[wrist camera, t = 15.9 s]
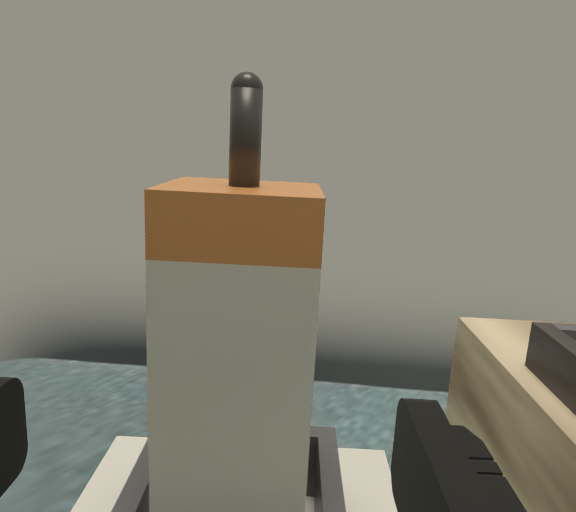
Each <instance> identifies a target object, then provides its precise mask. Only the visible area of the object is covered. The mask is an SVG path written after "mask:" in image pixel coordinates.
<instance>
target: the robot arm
mask: <svg viewBox="0 0 576 512" xmlns="http://www.w3.org/2000/svg"><path fill="white" fill-rule="evenodd" d="M27 448H28V442H27V428H26V415H25V402H24V390H23V385H22V383H21V381H20V380H19V379H18V378H9V377H0V497H1V496H2V495H3V493H4V492H5V491H6V490H7V489H8V487H9V486H10V485H11V484H12V483H13V481H14V480H15V479H16V478H17V477H18V475H19V474H20V472H21V470H22V468H23V465H24V463H25V459H26V455H27ZM391 484H392V492H393V497H394V501H395V504H396V508H397V512H527V511H526V509H525V508H524V506H523V504H522V503H521V501H520V500H519V498H518V496H517V495H516V493H515V492H514V490H513V488H512V487H511V485H510V484H509V482H508V480H507V479H506V477H503V473H502V471H501V469H500V468H499V466H498V465H497V463H496V462H494V458H493V457H492V455H491V453H490V452H489V450H488V449H487V447H486V445H485V444H484V442H483V441H482V440H481V439H480V438H478V437H477V436H476V435H475V434H473V433H472V432H471V431H469V430H468V429H467V428H466V427H464V426H460V425H450V423H449V421H448V419H447V417H446V415H445V414H444V412H443V410H442V408H441V406H440V405H439V403H438V401H436V400H424V399H404V398H401V399H400V400H399V403H398V407H397V415H396V425H395V434H394V444H393V453H392V463H391Z"/></svg>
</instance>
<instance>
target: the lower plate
mask: <svg viewBox="0 0 576 512" xmlns="http://www.w3.org/2000/svg"><path fill="white" fill-rule="evenodd" d="M71 512H149V459H148V438H146V437H128V436H117V437H116V438H115V440H114V442H113V443H112V445H111V446H110V448H109V450H108V451H107V453H106V455H105V456H104V458H103V460H102V461H101V463H100V464H99V466H98V468H97V469H96V471H95V473H94V474H93V476H92V478H91V479H90V481H89V482H88V484H87V486H86V487H85V489H84V491H83V492H82V494H81V496H80V497H79V499H78V500H77V502H76V504H75V505H74V507H73V509H72V510H71ZM305 512H397V508H396V504H395V501H394V497H393V492H392V484H391V473H390V469H389V466H388V462H387V459H386V455H385V452H384V450H368V449H349V448H338V447H337V439H336V432H335V428H330V427H312V426H311V429H310V444H309V460H308V475H307V490H306V505H305Z"/></svg>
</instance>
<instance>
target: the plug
mask: <svg viewBox="0 0 576 512" xmlns="http://www.w3.org/2000/svg"><path fill="white" fill-rule="evenodd" d="M262 105H263V85H262V82H261V80H260V79H259V77H258V76H257V75H255V74H254V73H251V72H242V73H240V74H238V75H237V76H236V77H235V78H234V79H233V81H232V84H231V101H230V148H229V179H219V178H199V177H181V178H178V179H175V180H172V181H169V182H166V183H163V184H160V185H157V186H153V187H150V188H147V189H145V190H144V192H145V193H144V194H145V258H146V259H145V260H146V324H147V325H146V327H147V393H148V459H149V512H305V505H306V490H307V475H308V460H309V444H310V429H311V414H312V399H313V383H314V368H315V353H316V338H317V323H318V307H319V292H320V276H321V262H322V246H323V231H324V216H325V201H326V198H325V196H324V194H323V192H322V190H321V188H320V186H319V185H318V184H317V183H299V182H298V183H297V182H278V181H260V159H261V133H262V132H261V131H262Z"/></svg>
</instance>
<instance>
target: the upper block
mask: <svg viewBox="0 0 576 512" xmlns="http://www.w3.org/2000/svg"><path fill="white" fill-rule="evenodd" d="M446 417H447V419H448V421H449V423H450V425H460V426H464V427H466V428H467V429H468V430H469V431H471V432H472V433H473V434H475V435H476V436H477V437H478V438H480V439H481V440H482V441H483V442H484V444H485V445H486V447H487V449H488V450H489V452H490V453H491V455H492V457H493V458H494V462H496V463H497V465H498V466H499V468H500V469H501V471H502V473H503V477H506V479H507V480H508V482H509V484H510V485H511V487H512V488H513V490H514V492H515V493H516V495H517V496H518V498H519V500H520V501H521V503H522V504H523V506H524V508H525V509H526V511H527V512H576V323H563V322H544V321H526V320H507V319H487V318H469V317H458V325H457V332H456V340H455V347H454V354H453V362H452V370H451V377H450V385H449V392H448V400H447V407H446Z"/></svg>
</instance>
